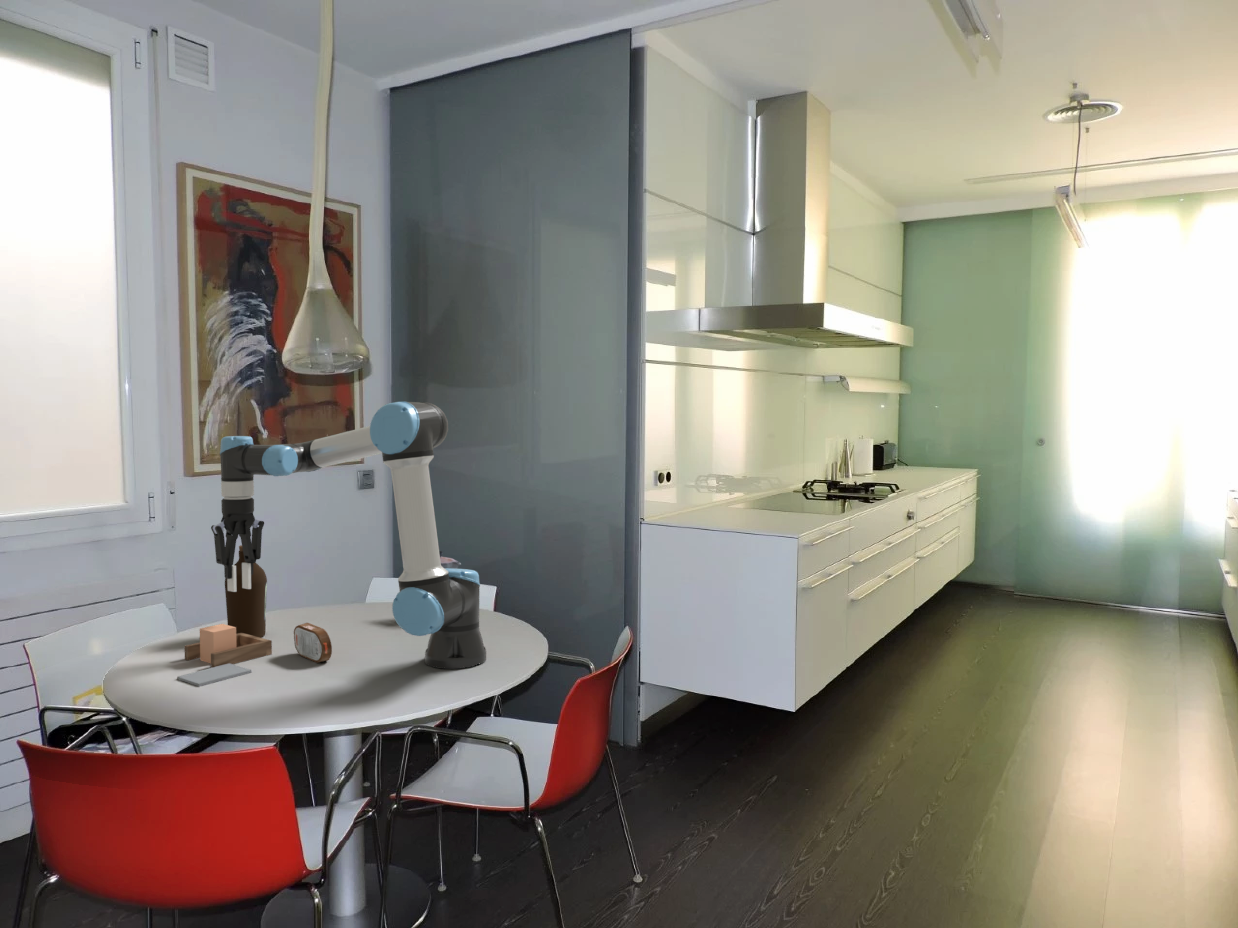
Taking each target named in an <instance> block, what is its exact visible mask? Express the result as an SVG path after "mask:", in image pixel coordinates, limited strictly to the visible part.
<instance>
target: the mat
mask: <svg viewBox="0 0 1238 928" xmlns="http://www.w3.org/2000/svg"><path fill="white" fill-rule="evenodd" d="M251 673H252V669H249V668H246V667H244V666H240V665H237V664H230V663H228V664H225V665H221V666H217V667H213V668H211V667H209V668H204V669H201V670H197V671H194V672H191V673H186V674H181V675H178V676H177V677H176V680H178V679H179V681H182V682H185V683H188V684H191V685H194V686H196V687H201V686H202V687H203V686H206V685H210V684H213V683H216V682H221V681H224V680H223V679H225V680H228V679H232V678H236V677H239V676H242V675H247V674H251ZM227 678H228V679H227Z"/></svg>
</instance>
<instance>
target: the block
mask: <svg viewBox="0 0 1238 928" xmlns="http://www.w3.org/2000/svg"><path fill="white" fill-rule="evenodd" d="M199 642H200V658H199V660H200V661H202V662H204V663H207V664H211V653H215V652H219V651H223V650H227V649H231V648H236V627H233V626H229V625H228V624H225V623H221V624H220V623H219V624H216V625H215V624H214V625H210V626H206V627H205V626H204V627H201V628H199Z"/></svg>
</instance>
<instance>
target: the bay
mask: <svg viewBox="0 0 1238 928" xmlns="http://www.w3.org/2000/svg"><path fill="white" fill-rule="evenodd" d="M272 643H273V641H272V640H270V639H266V638H263V637H261V638H260V637H256V636H252V635H248V634H244V633H238V634H236V648H231V649H227V650H223V651H219V652H215V653H211V663H210V668H213V667H217V666H221V665H225V664H228V663H230V664H233V665H236V664H239V663H243V662H247V661H250V660H254V659H258V658H262V657H266V655H267V656H270V655H272V654H273V648H272V645H273V644H272ZM183 648H184V660H185V661H187V662H188V661H192V660H197V659H200V641H198V642H194V643H190V644H186V645H184V647H183Z"/></svg>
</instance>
